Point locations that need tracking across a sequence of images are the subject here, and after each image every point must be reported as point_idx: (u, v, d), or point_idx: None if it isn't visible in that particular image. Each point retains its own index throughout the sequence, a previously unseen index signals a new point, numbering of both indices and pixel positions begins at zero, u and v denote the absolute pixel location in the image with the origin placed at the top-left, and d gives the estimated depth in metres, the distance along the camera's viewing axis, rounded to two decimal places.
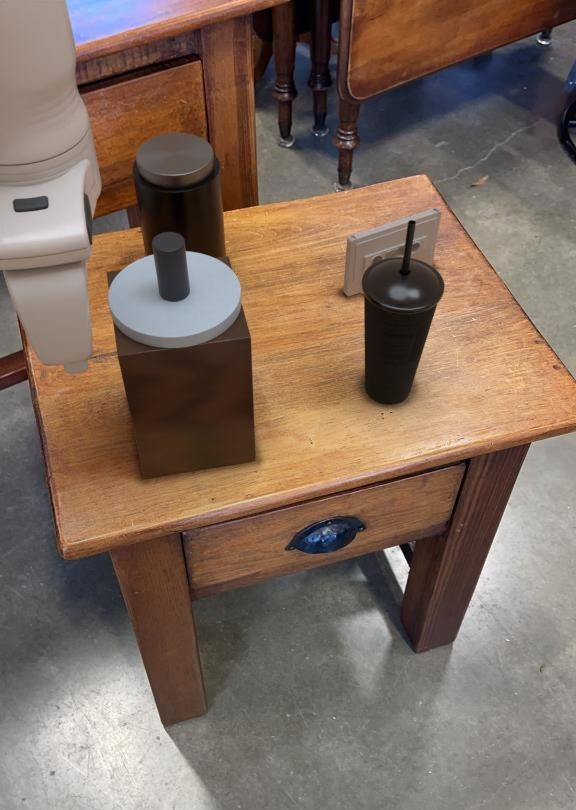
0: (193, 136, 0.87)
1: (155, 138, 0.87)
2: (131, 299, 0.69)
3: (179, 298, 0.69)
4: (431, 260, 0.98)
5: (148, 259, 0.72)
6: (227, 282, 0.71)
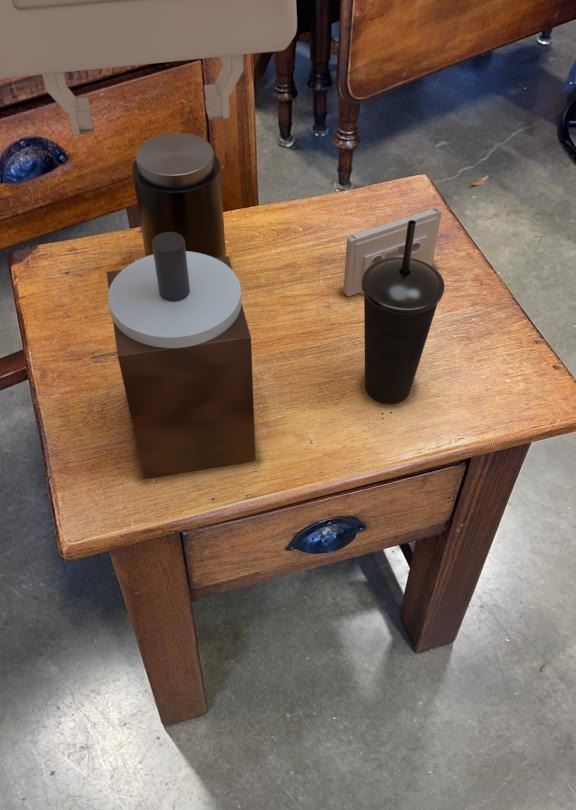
0: (193, 136, 0.87)
1: (155, 138, 0.87)
2: (131, 299, 0.69)
3: (179, 298, 0.69)
4: (431, 260, 0.98)
5: (148, 259, 0.72)
6: (227, 282, 0.71)
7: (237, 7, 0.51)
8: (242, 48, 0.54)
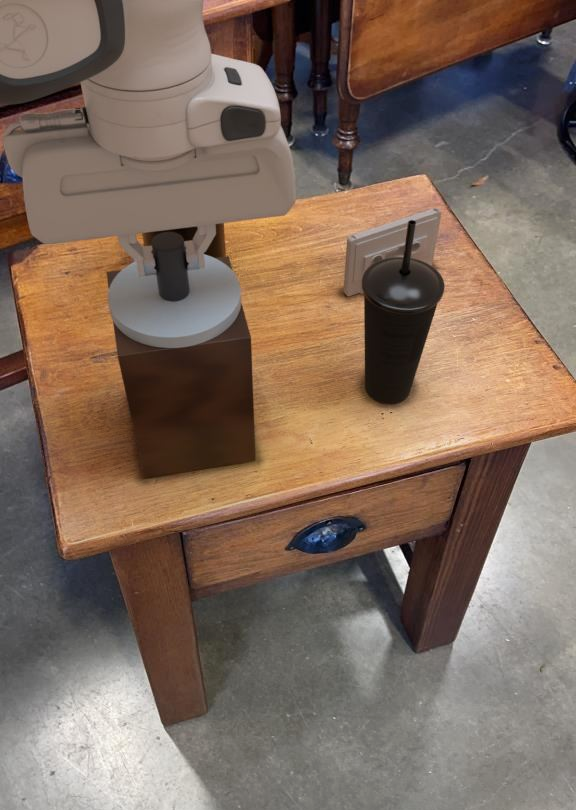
0: None
1: None
2: (131, 299, 0.69)
3: (179, 298, 0.69)
4: (431, 260, 0.98)
5: None
6: (227, 282, 0.71)
7: (246, 187, 0.62)
8: (250, 216, 0.64)
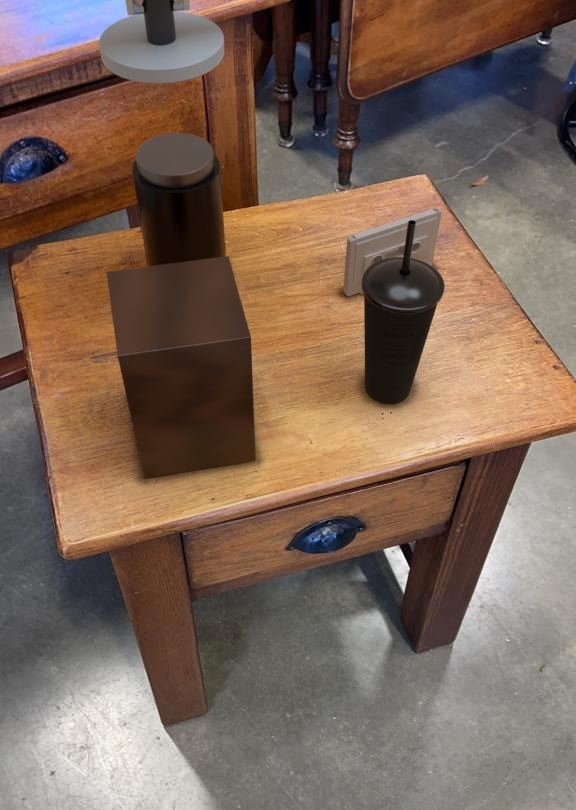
0: (193, 136, 0.87)
1: (155, 138, 0.87)
2: (121, 44, 0.74)
3: (165, 41, 0.74)
4: (431, 260, 0.98)
5: (137, 16, 0.77)
6: (211, 32, 0.75)
7: None
8: None
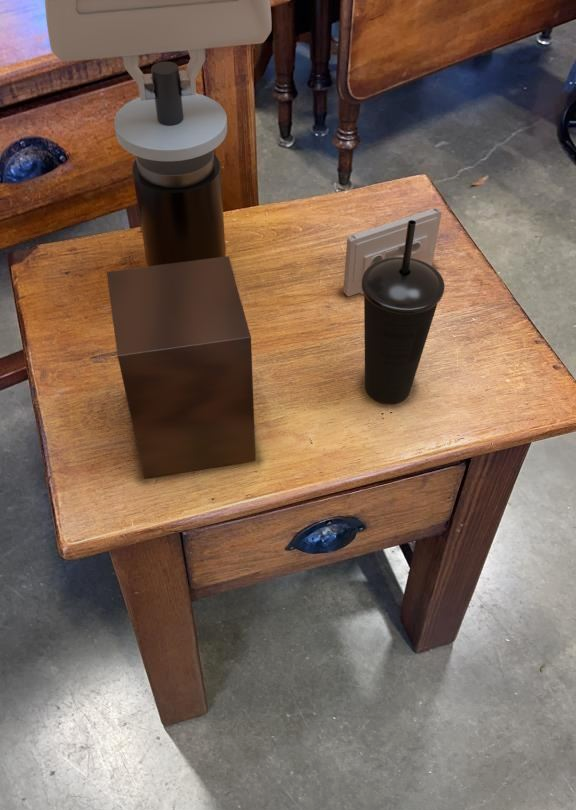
0: None
1: None
2: (134, 124, 0.82)
3: (174, 122, 0.82)
4: (431, 260, 0.98)
5: None
6: (215, 112, 0.83)
7: (230, 13, 0.74)
8: (233, 41, 0.76)
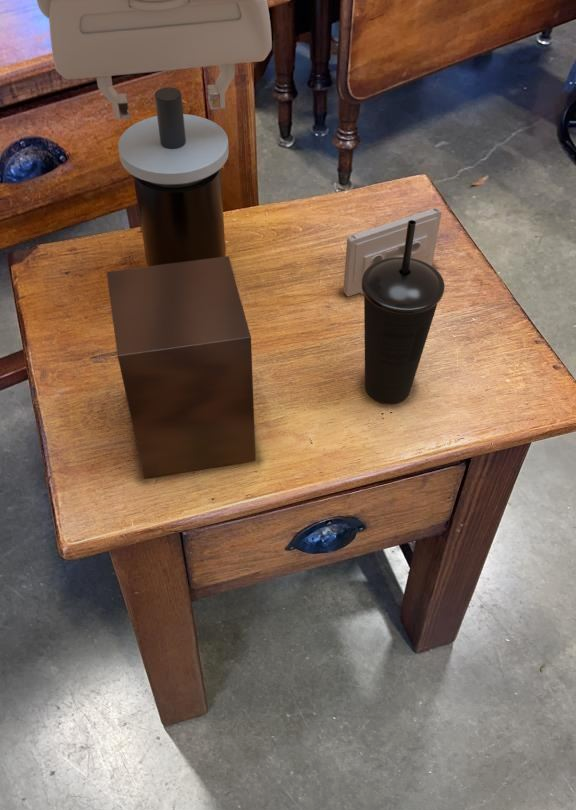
0: None
1: None
2: (137, 147, 0.84)
3: (177, 146, 0.84)
4: (431, 260, 0.98)
5: (151, 119, 0.87)
6: (216, 135, 0.85)
7: (231, 32, 0.76)
8: (234, 59, 0.78)
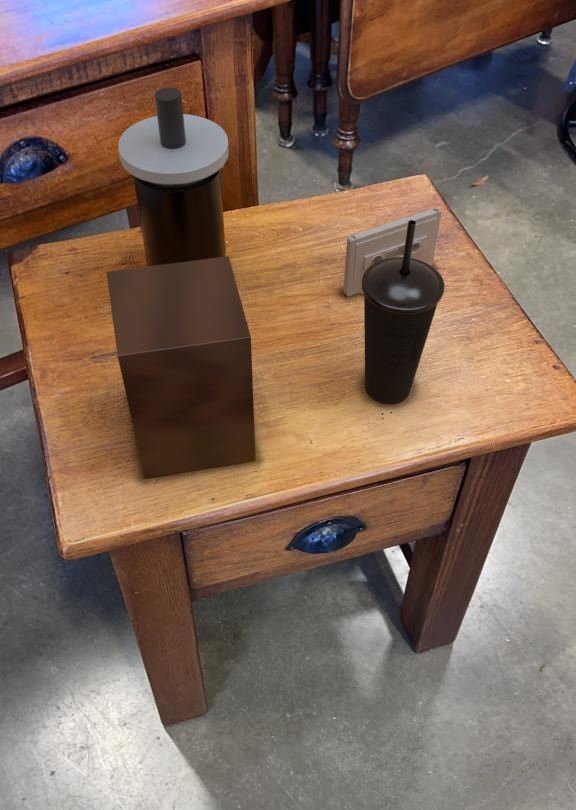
0: None
1: None
2: (137, 147, 0.84)
3: (177, 146, 0.84)
4: (431, 260, 0.98)
5: (151, 119, 0.87)
6: (216, 135, 0.85)
7: None
8: None
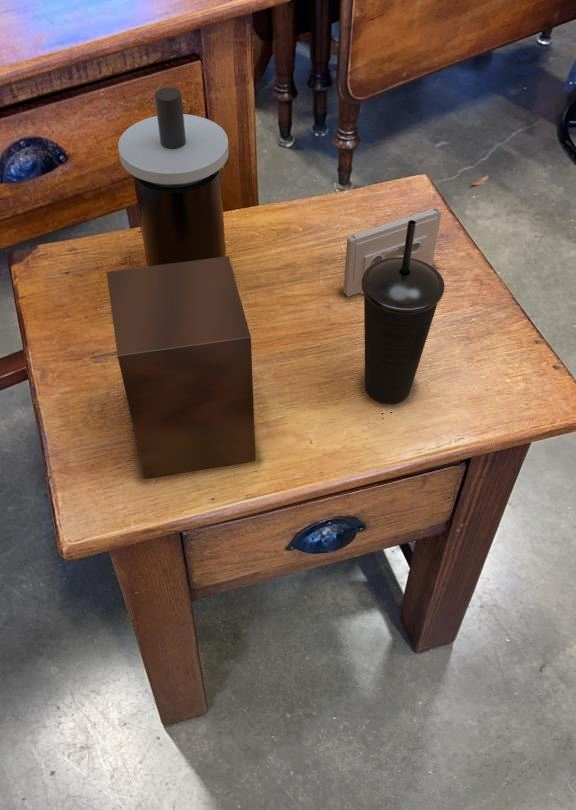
0: None
1: None
2: (137, 147, 0.84)
3: (177, 146, 0.84)
4: (431, 260, 0.98)
5: (151, 119, 0.87)
6: (216, 135, 0.85)
7: None
8: None
